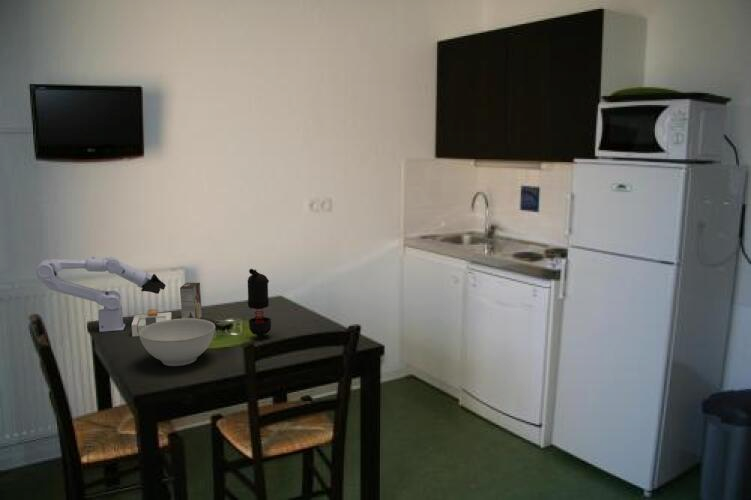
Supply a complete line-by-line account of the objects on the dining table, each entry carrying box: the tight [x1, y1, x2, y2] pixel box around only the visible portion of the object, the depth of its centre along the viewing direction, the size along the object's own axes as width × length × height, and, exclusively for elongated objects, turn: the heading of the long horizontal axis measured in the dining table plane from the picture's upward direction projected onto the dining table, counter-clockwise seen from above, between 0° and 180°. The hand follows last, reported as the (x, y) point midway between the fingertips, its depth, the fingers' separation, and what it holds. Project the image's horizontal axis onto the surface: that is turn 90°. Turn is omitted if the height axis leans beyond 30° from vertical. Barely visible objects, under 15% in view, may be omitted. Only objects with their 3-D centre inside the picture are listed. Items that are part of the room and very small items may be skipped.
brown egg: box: [146, 308, 159, 316], centre depth 271 cm, size 4×4×4 cm
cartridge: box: [138, 317, 165, 333], centre depth 263 cm, size 10×10×6 cm
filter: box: [247, 268, 272, 339], centre depth 255 cm, size 14×9×30 cm
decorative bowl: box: [138, 317, 216, 367], centre depth 230 cm, size 27×27×12 cm
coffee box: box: [179, 282, 203, 319], centre depth 280 cm, size 9×6×16 cm
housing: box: [131, 311, 172, 337], centre depth 266 cm, size 15×15×5 cm
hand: (162, 289), depth 272 cm, fingers open, 7 cm apart
